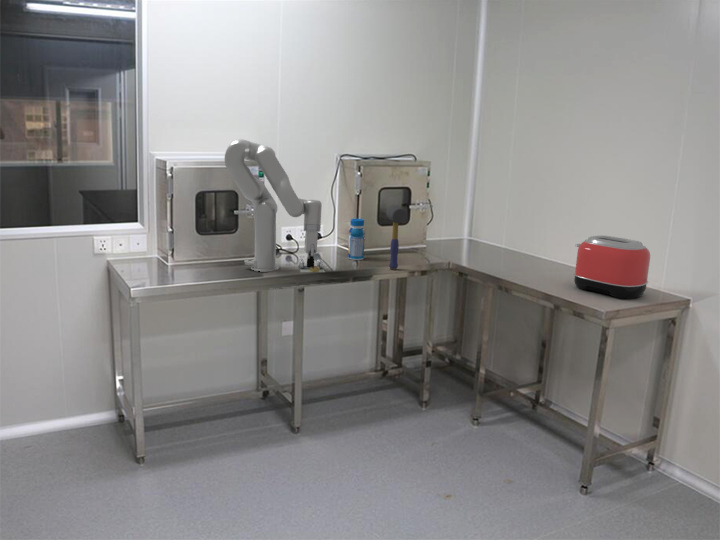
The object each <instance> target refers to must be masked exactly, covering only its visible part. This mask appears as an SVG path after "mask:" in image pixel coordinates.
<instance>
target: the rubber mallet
mask: <svg viewBox="0 0 720 540" xmlns="http://www.w3.org/2000/svg"><path fill="white" fill-rule="evenodd" d="M385 212H386V213H385V214H386V218H388V219H389V220H390V221H391V222H392V236H391V241H390V242H391V243H390V260H389V261H390V262H389V265H388V267H389V269H390V270H394V271H395V270H397V268H398V267H399V266H398V265H399V264H398V254H399V244H400V243H399V239H398V237H399V224H402V223H404V222H405V221H406V220H407V216H408V215H407V212H406V210H405V209H404V208H402V207H401V206H398V205H394V204H393V205H390V206H388V207H387V208H386V211H385Z"/></svg>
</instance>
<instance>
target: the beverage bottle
mask: <svg viewBox="0 0 720 540" xmlns="http://www.w3.org/2000/svg"><path fill="white" fill-rule="evenodd" d="M364 226H365V220H364V219H363V218H351V219H350V228H349V230H348V234H349V235H348V238H347V239H348V249H347V259H349V260H350V261H351V260H352V261H363V260H364V259H365V241H366V236H365V235H366V231H365V229H364Z"/></svg>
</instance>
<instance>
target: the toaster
mask: <svg viewBox="0 0 720 540" xmlns="http://www.w3.org/2000/svg"><path fill="white" fill-rule="evenodd" d="M574 246H575V247H576V248H577V247H578V248H577V255H576V261H575V271H574V272H573V276H574V278H573V282H574V285H575V286H576V288H578V289H579V290H587V291H594V292H596V293H602V294H607V295H610V296H612V297H614V298H619V299H621V300H628V299H634V298H635V299H636V298H640V297H642V296H643V295H644V293H645V291H646V289H647V285H648V284H649V281H648V276H649V269H650V263H651V252H650V250H649V249H648V247H646V246H645V245H644V244H643V242H641V241H639V240H635V239H628V238H625V237H624V238H623V237H617V236H611V235H610V236H609V235H593V236H589V237H588V239H585V240H584V241H582V242H581V243H577V244H575V245H574Z"/></svg>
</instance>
